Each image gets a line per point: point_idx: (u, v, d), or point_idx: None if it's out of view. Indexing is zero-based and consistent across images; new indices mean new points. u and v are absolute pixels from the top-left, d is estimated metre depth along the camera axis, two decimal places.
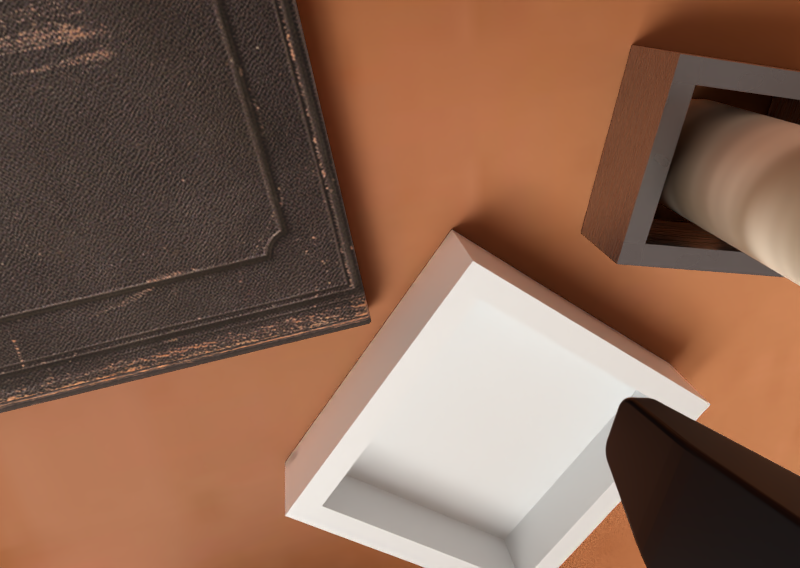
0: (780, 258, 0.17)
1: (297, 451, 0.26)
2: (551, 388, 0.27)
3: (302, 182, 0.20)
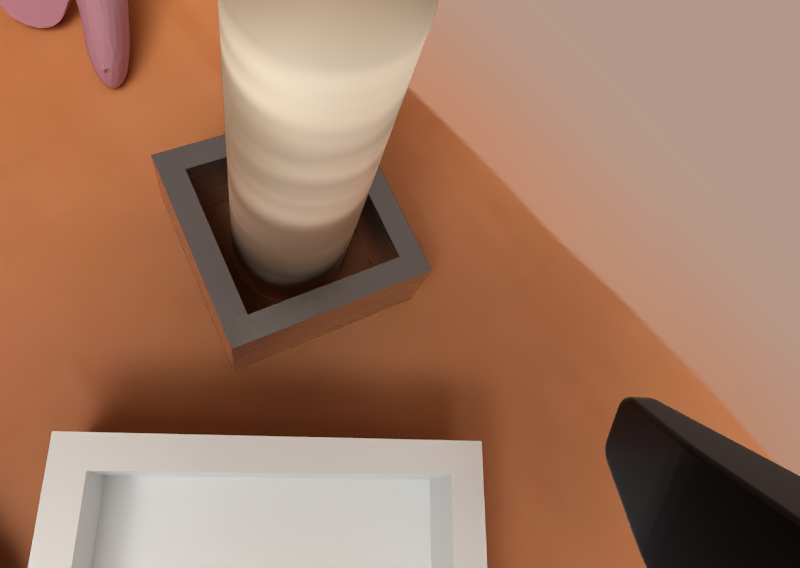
0: (262, 191, 0.16)
1: None
2: (322, 559, 0.20)
3: None
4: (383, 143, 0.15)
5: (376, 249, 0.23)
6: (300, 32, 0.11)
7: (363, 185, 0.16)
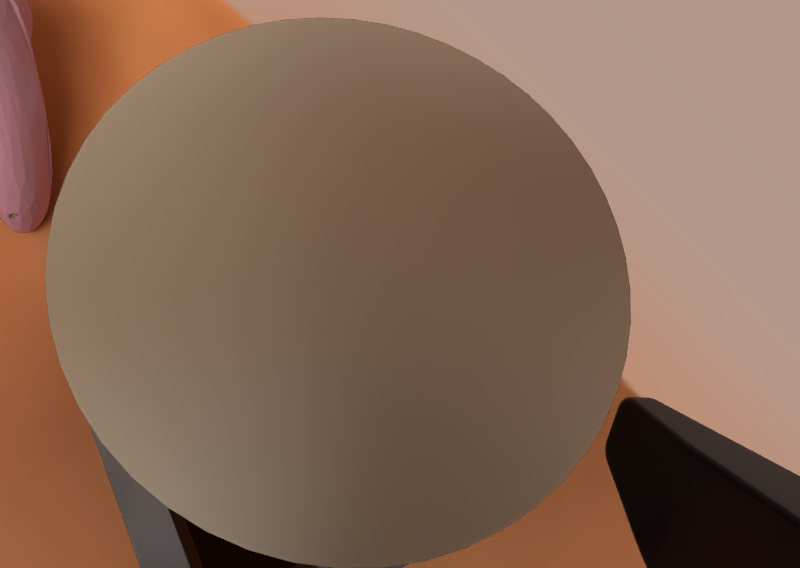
0: None
1: None
2: None
3: None
4: None
5: None
6: (284, 467, 0.04)
7: None
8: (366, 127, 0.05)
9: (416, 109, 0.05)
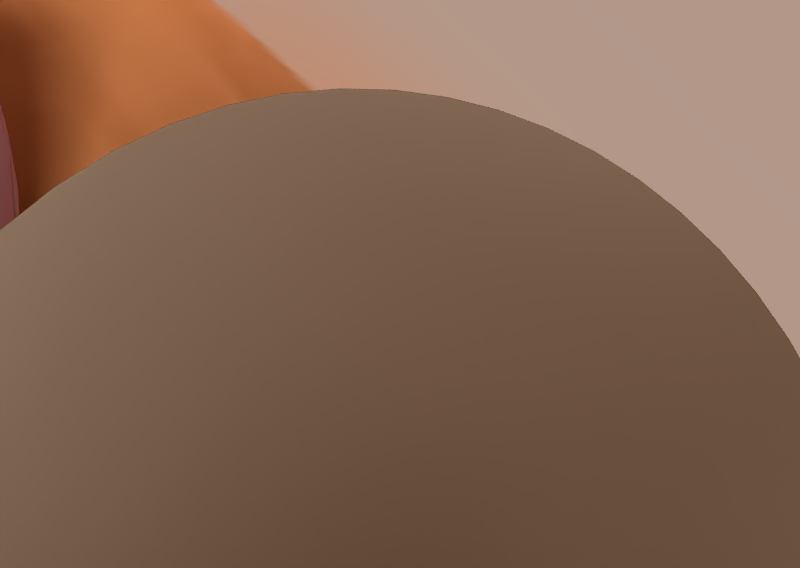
0: None
1: None
2: None
3: None
4: None
5: None
6: None
7: None
8: (423, 288, 0.03)
9: (504, 250, 0.03)
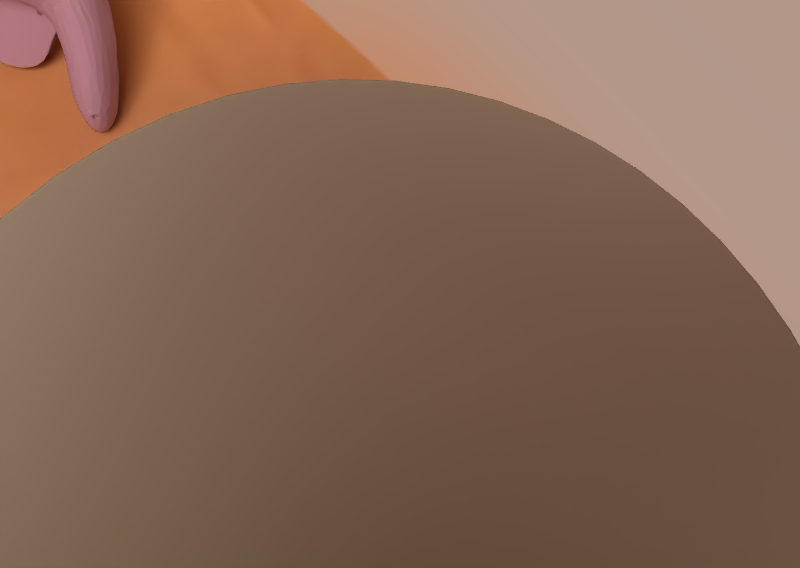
0: None
1: None
2: None
3: None
4: None
5: None
6: None
7: None
8: (423, 279, 0.03)
9: (506, 239, 0.03)
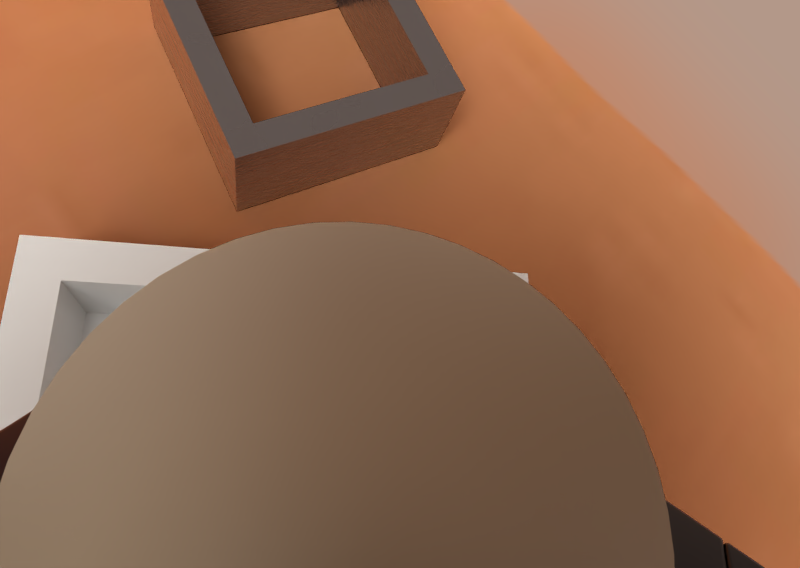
0: None
1: None
2: None
3: None
4: None
5: (399, 82, 0.20)
6: None
7: None
8: (365, 366, 0.04)
9: (425, 334, 0.04)
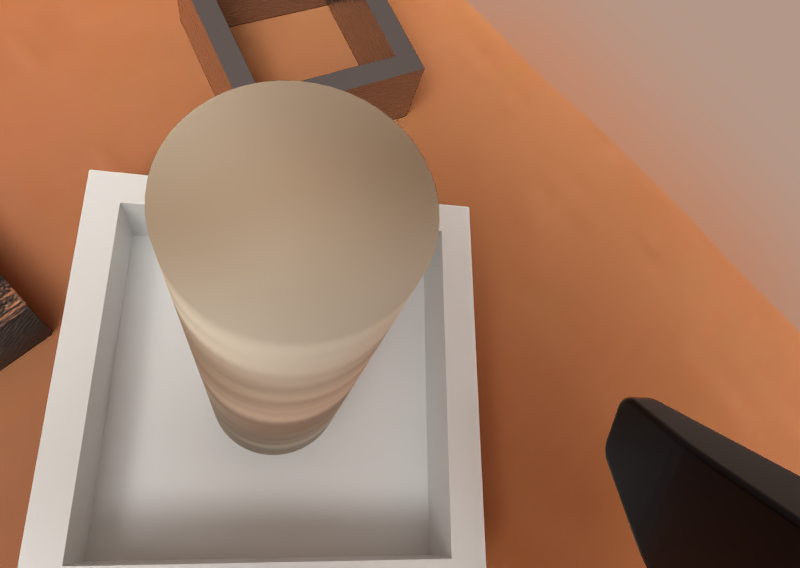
0: (230, 398, 0.13)
1: None
2: None
3: None
4: (375, 350, 0.12)
5: None
6: (256, 296, 0.08)
7: (353, 381, 0.13)
8: (301, 138, 0.09)
9: (329, 128, 0.09)
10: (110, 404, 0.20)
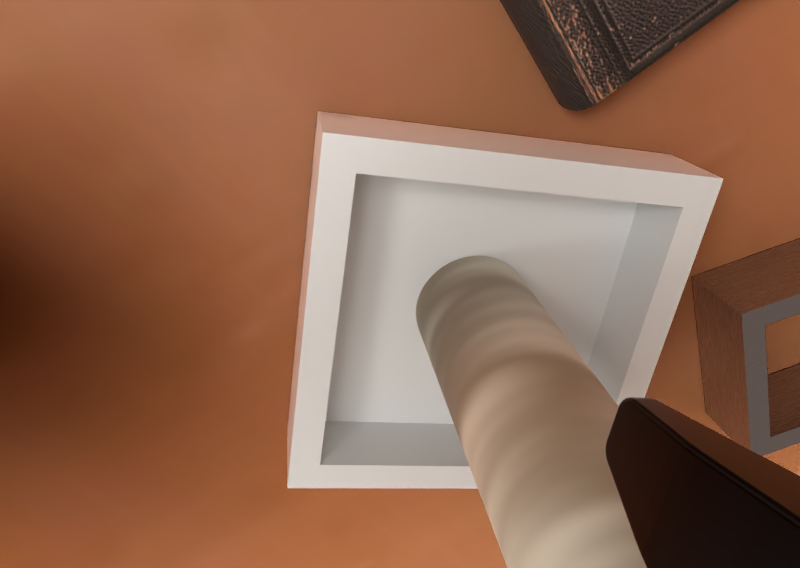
0: (493, 421, 0.15)
1: (351, 117, 0.19)
2: None
3: None
4: None
5: None
6: None
7: None
8: None
9: None
10: None
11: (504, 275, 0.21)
